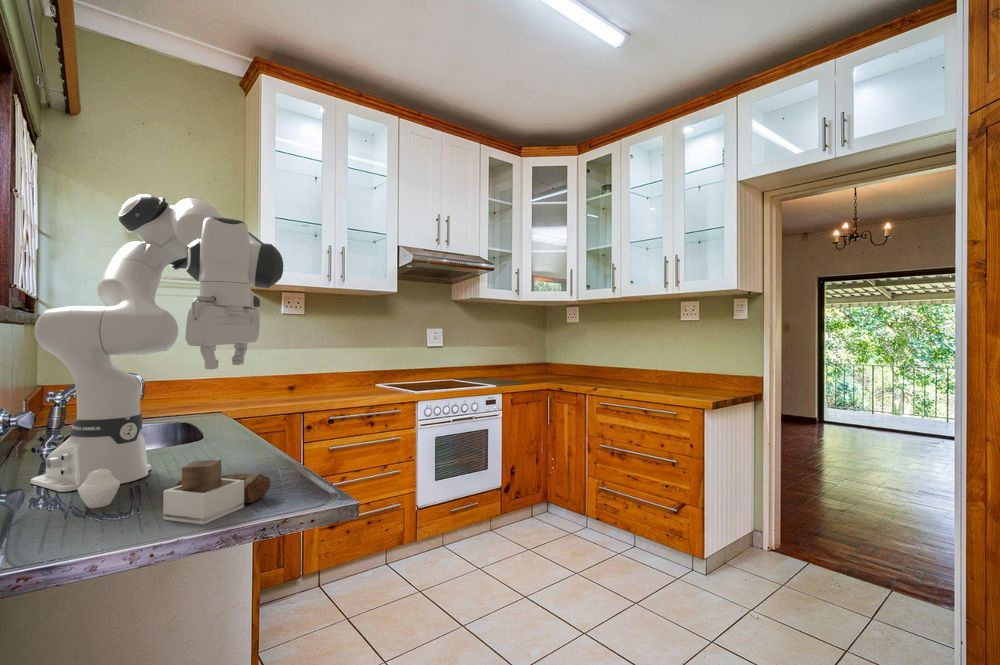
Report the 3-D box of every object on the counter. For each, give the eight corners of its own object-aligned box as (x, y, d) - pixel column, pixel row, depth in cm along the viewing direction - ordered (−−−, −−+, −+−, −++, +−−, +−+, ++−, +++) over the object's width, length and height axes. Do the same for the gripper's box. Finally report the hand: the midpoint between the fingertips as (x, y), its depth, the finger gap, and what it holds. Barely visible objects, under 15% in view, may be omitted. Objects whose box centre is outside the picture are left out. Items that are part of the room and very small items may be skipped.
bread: (250, 508, 90) (251, 478, 90) (167, 501, 94) (167, 473, 94) (273, 497, 96) (273, 469, 96) (194, 491, 100) (194, 464, 100)
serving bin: (163, 519, 84) (163, 490, 84) (206, 503, 92) (206, 476, 92) (203, 524, 81) (203, 494, 81) (244, 507, 90) (244, 480, 90)
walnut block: (181, 513, 84) (182, 467, 84) (194, 504, 88) (194, 460, 89) (210, 511, 85) (210, 466, 85) (221, 503, 89) (221, 459, 89)
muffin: (73, 506, 90) (73, 469, 90) (113, 498, 95) (113, 462, 95) (83, 513, 87) (84, 474, 87) (124, 504, 92) (125, 467, 92)
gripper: (210, 295, 86) (210, 372, 86) (265, 300, 106) (265, 363, 107) (175, 294, 86) (175, 371, 86) (236, 300, 106) (236, 362, 106)
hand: (225, 366), depth 96 cm, fingers open, 8 cm apart
